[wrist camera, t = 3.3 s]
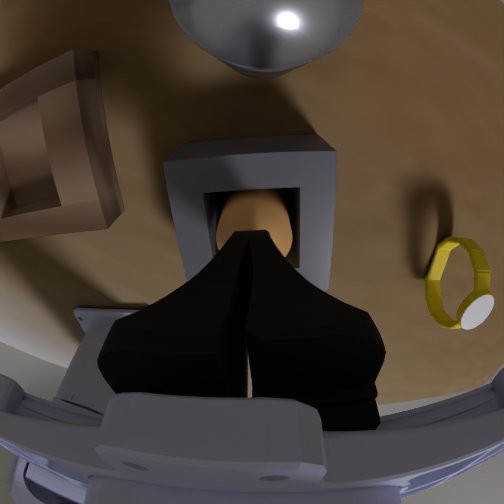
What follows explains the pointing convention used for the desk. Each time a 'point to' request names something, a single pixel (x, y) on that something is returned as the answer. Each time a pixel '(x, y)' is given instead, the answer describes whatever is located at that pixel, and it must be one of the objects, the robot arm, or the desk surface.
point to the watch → (476, 302)
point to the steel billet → (267, 31)
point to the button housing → (255, 177)
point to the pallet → (56, 151)
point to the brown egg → (256, 216)
